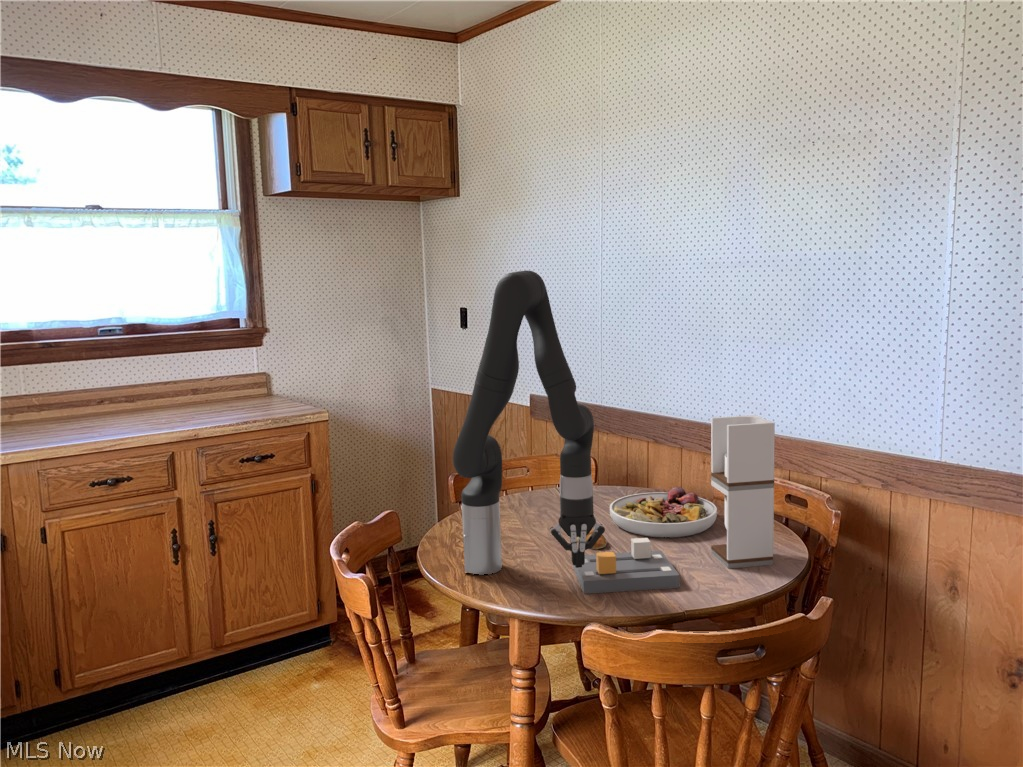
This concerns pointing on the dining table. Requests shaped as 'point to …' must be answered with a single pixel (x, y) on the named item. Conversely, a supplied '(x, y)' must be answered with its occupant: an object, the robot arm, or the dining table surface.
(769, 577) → the dining table surface
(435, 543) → the dining table surface
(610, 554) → the slider
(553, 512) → the dining table surface
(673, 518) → the bowl
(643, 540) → the on slider
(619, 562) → the switch panel
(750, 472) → the white upright stand
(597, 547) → the pastry
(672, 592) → the dining table surface
